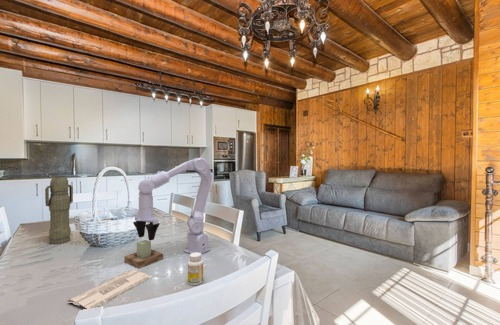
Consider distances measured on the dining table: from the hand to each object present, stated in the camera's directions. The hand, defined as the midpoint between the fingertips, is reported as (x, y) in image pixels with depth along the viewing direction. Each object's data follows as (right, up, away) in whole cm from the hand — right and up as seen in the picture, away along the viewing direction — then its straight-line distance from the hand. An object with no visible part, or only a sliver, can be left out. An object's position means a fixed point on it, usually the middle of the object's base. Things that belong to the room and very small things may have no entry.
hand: (146, 238), depth 104 cm
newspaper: (-1, -10, -25) cm, 27 cm away
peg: (0, -9, -2) cm, 9 cm away
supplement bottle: (+26, -9, -21) cm, 35 cm away
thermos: (-56, -10, +23) cm, 62 cm away
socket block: (0, -9, -2) cm, 9 cm away
